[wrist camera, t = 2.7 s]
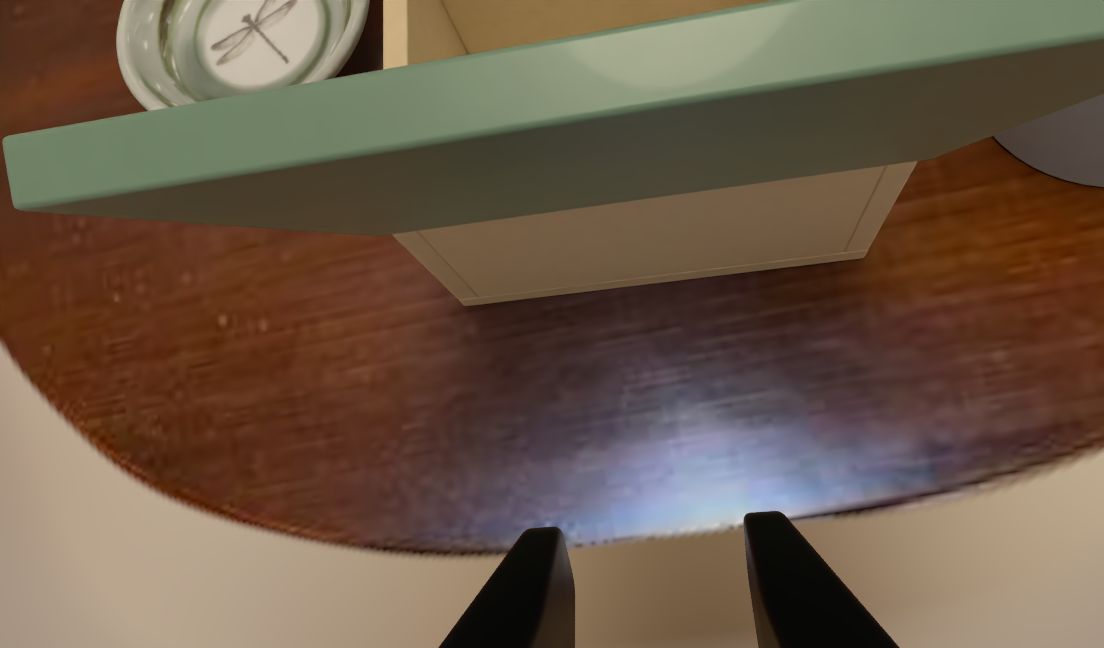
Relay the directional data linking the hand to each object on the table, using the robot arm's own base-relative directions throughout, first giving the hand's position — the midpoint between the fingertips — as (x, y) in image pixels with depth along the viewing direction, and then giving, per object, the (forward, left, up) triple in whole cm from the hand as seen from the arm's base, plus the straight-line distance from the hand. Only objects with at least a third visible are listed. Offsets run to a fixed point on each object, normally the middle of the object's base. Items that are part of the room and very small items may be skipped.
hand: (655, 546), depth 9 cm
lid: (+5, -3, -2) cm, 7 cm away
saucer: (+23, +2, -14) cm, 27 cm away
